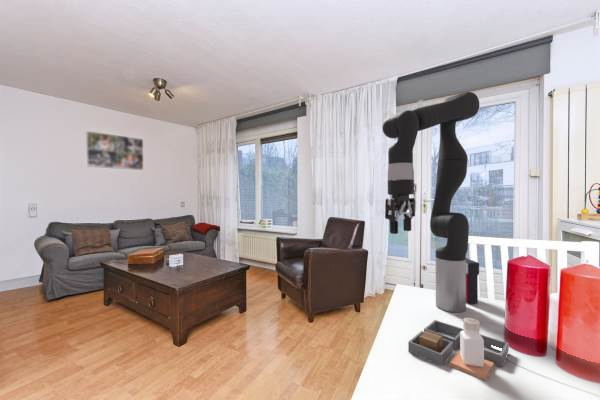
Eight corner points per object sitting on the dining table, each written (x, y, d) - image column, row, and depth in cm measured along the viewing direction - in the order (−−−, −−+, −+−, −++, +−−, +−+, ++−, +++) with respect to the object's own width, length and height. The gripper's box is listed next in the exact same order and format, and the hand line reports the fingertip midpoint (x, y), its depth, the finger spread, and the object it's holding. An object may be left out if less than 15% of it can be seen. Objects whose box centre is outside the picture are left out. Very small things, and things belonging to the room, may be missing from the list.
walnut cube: (425, 346, 69) (425, 330, 69) (442, 352, 66) (442, 336, 66) (419, 352, 66) (419, 336, 66) (436, 359, 64) (436, 342, 64)
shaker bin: (472, 340, 71) (472, 331, 71) (508, 353, 65) (508, 343, 65) (462, 352, 66) (462, 342, 66) (501, 367, 60) (501, 356, 60)
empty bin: (435, 328, 78) (434, 319, 78) (465, 338, 72) (465, 329, 72) (423, 338, 73) (423, 329, 73) (455, 349, 67) (455, 339, 67)
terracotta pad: (459, 353, 66) (459, 350, 66) (493, 366, 60) (493, 362, 60) (449, 365, 61) (449, 362, 61) (485, 380, 56) (485, 377, 56)
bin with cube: (421, 340, 72) (421, 330, 72) (453, 352, 66) (453, 342, 66) (408, 351, 67) (408, 341, 67) (441, 365, 61) (441, 355, 61)
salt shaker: (484, 369, 58) (484, 325, 58) (464, 365, 60) (463, 323, 60) (479, 358, 62) (478, 318, 62) (459, 355, 63) (459, 315, 63)
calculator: (450, 293, 106) (450, 256, 106) (461, 293, 106) (461, 256, 106) (467, 304, 95) (467, 263, 95) (479, 304, 95) (479, 262, 95)
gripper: (399, 180, 88) (400, 229, 88) (377, 178, 79) (377, 233, 79) (422, 179, 83) (423, 231, 83) (401, 177, 73) (401, 235, 73)
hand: (400, 232), depth 81 cm, fingers open, 8 cm apart
